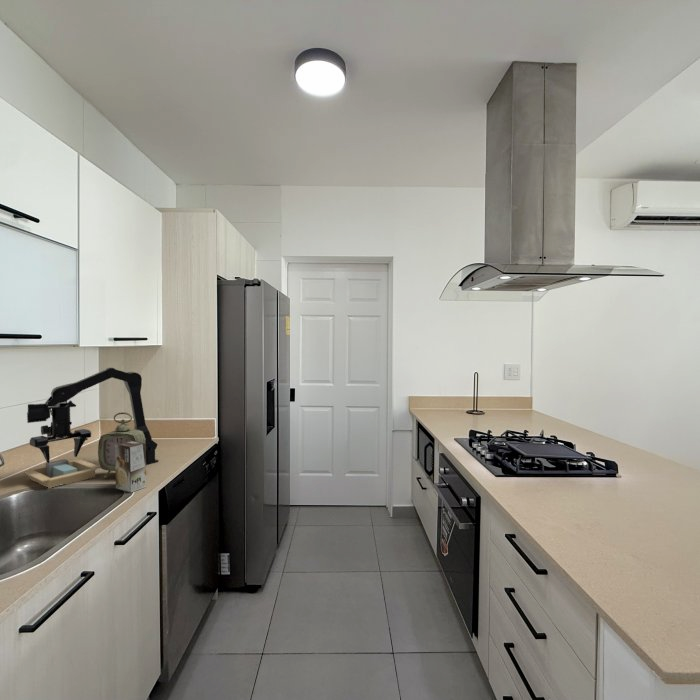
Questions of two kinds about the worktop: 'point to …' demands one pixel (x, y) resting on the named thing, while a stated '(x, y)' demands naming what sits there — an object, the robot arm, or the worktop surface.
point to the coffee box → (130, 465)
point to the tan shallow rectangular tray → (83, 473)
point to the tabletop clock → (110, 439)
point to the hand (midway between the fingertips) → (62, 459)
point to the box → (59, 468)
